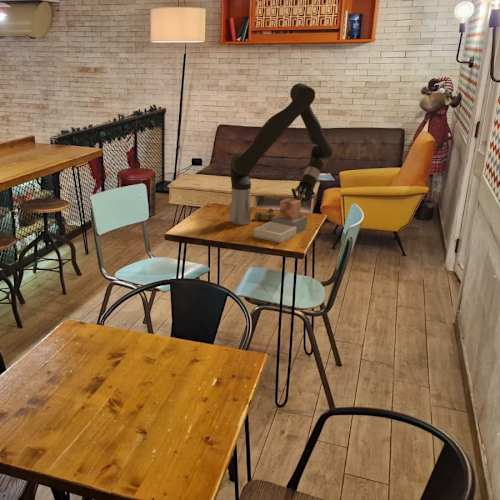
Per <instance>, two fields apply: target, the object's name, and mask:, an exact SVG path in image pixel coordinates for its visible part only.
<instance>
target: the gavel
mask: <svg viewBox="0 0 500 500" xmlns="http://www.w3.org/2000/svg"><path fill="white" fill-rule="evenodd" d="M275 216H277V214H276V212H274V209H273V208H269V209H268V210H267V211H266V212H261V211H259V210H258V211H255V213H254V220H255V221H266V222H267V221H268V222H272V218H273V217H275Z"/></svg>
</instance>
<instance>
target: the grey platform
mask: <svg viewBox="0 0 500 500" xmlns="http://www.w3.org/2000/svg"><path fill="white" fill-rule="evenodd" d="M272 222H275V223H280V224H284V225H289V226H294V227H297V229H296V235H297V234H299V233H300V232H302V231H305V230H307V224H308V223H307V222H308V216H306V215H301V214H300V217H299V218H296V219H294V220H289V219H284V218H280V214H278V215H276V216H275V217H273V218H272Z"/></svg>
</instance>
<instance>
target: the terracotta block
mask: <svg viewBox="0 0 500 500" xmlns="http://www.w3.org/2000/svg"><path fill="white" fill-rule="evenodd" d="M301 208H302V205H301V200H296V199H295V198H289V197H287V198H284V199H282V200H280V203H279V215H280V218H284V219H289V220H294V219H296V218H299V217H300V215H301Z"/></svg>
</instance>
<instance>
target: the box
mask: <svg viewBox="0 0 500 500" xmlns="http://www.w3.org/2000/svg"><path fill="white" fill-rule="evenodd" d="M296 229H297V227H294V226H289V225H284V224H280V223H275V222H271V221H268V222H266V223H263V224H261V225H260V226H257V227H254V228H253V237H254V238H256V239H259V240H260V239H261V240H265V241H268V242H269V241H270V242H273V243H277V244H282V243H284V242H286V241H288V240H291V239H292V238H294V237H296V236H297V234H296Z"/></svg>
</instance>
